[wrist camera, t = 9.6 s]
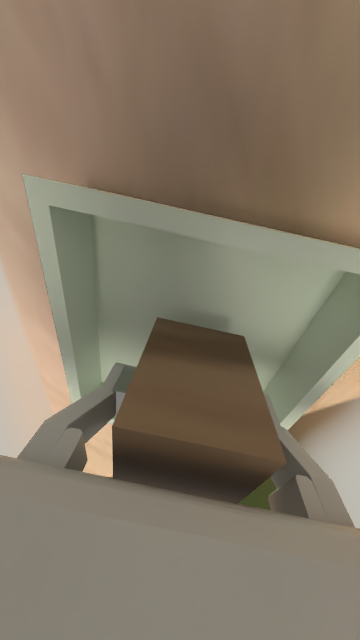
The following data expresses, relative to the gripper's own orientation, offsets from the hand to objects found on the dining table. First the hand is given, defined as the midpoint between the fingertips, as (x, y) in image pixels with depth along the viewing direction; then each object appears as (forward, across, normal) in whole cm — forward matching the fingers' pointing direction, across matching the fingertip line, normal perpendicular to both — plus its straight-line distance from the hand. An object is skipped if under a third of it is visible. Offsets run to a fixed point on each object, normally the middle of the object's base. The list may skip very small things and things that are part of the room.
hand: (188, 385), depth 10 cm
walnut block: (+2, 0, 0) cm, 2 cm away
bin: (+5, 0, 0) cm, 5 cm away
